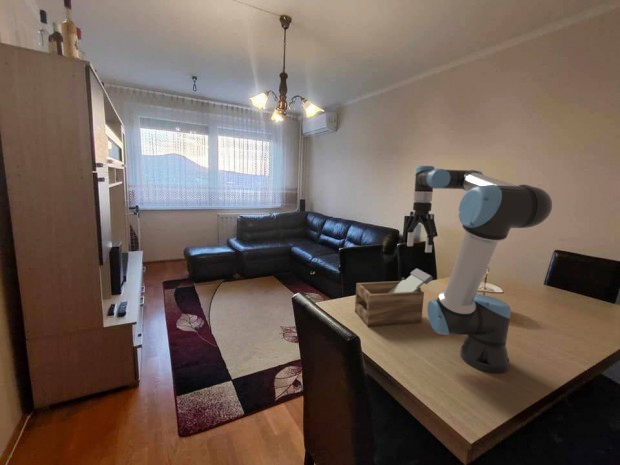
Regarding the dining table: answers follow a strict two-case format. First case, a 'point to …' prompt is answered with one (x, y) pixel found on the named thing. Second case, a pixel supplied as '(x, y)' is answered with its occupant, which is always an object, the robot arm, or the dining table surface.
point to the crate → (387, 304)
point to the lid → (412, 282)
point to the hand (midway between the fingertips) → (418, 249)
